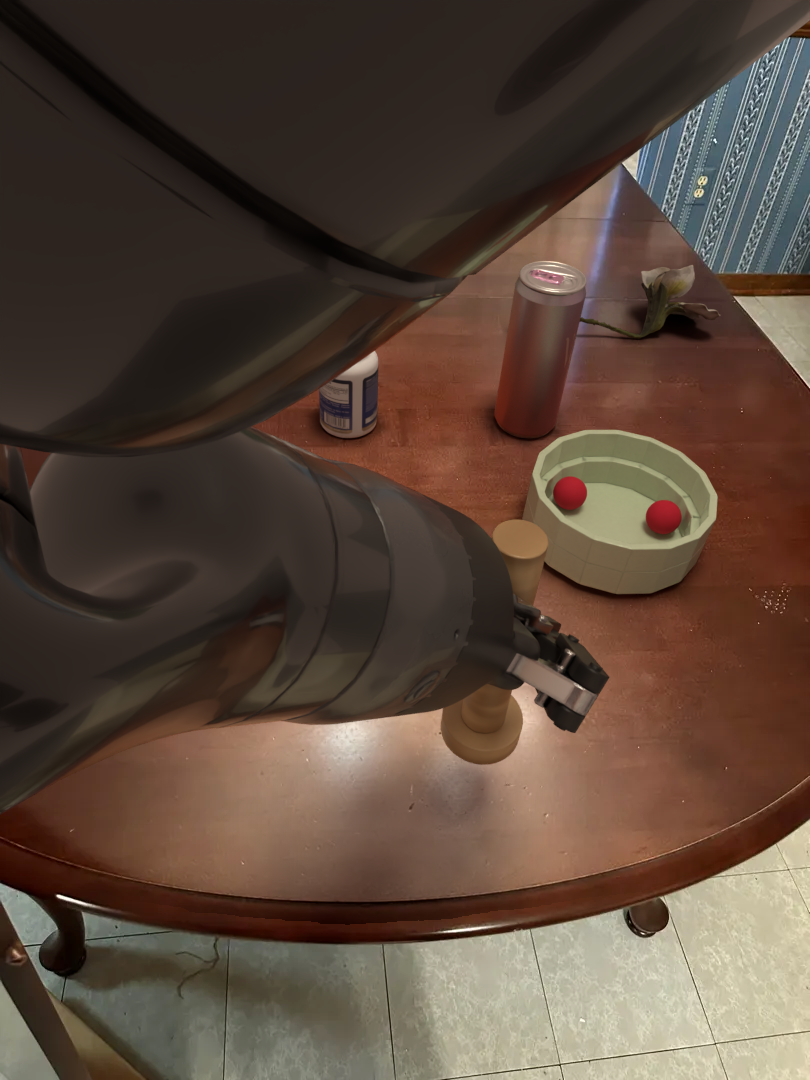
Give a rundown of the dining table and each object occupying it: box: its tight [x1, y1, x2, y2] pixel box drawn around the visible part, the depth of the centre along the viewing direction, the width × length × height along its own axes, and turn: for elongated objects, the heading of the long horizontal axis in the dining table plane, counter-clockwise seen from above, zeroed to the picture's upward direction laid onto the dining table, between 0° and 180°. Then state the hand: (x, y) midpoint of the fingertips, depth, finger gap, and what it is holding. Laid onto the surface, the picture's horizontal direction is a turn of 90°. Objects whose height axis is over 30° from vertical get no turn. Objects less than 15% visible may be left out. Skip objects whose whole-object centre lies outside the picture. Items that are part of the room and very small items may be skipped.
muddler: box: [440, 519, 548, 766], centre depth 39 cm, size 4×4×15 cm
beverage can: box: [493, 260, 587, 440], centre depth 71 cm, size 6×6×15 cm
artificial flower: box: [579, 264, 721, 339], centre depth 87 cm, size 9×22×10 cm, turn 98°
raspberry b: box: [646, 500, 682, 534], centre depth 64 cm, size 3×3×3 cm
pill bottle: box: [318, 350, 379, 439], centre depth 71 cm, size 5×5×10 cm
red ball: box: [553, 476, 587, 510], centre depth 66 cm, size 3×3×3 cm
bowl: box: [522, 429, 719, 595], centre depth 63 cm, size 14×14×6 cm
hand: (520, 623), depth 40 cm, fingers closed on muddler, 2 cm apart
